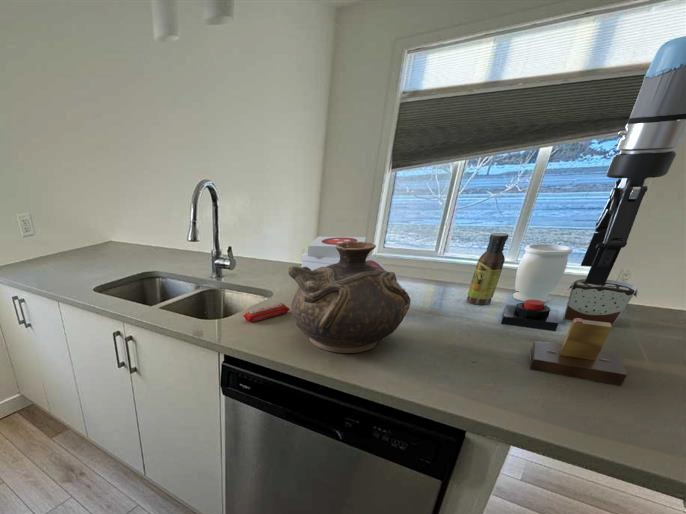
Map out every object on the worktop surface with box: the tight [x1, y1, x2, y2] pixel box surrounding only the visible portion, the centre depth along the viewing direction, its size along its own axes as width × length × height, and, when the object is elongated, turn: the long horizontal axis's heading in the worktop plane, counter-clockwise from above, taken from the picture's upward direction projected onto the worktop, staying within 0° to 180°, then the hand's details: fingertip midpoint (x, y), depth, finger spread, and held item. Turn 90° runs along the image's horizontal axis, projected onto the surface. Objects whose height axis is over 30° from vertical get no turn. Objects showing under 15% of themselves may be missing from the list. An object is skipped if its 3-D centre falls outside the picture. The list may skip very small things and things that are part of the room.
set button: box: [523, 300, 546, 310], centre depth 105 cm, size 4×4×2 cm
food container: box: [562, 278, 639, 328], centre depth 103 cm, size 12×6×10 cm, turn 48°
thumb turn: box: [560, 318, 613, 361], centre depth 83 cm, size 6×2×8 cm, turn 52°
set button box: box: [500, 302, 559, 332], centre depth 107 cm, size 11×10×4 cm
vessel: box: [287, 241, 411, 354], centre depth 101 cm, size 27×28×25 cm
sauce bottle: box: [466, 232, 509, 306], centre depth 117 cm, size 6×6×20 cm
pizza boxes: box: [301, 235, 406, 291], centre depth 129 cm, size 19×30×18 cm, turn 41°
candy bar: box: [242, 302, 291, 323], centre depth 125 cm, size 16×4×3 cm, turn 114°
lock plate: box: [529, 340, 628, 387], centre depth 86 cm, size 14×11×3 cm
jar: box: [512, 243, 574, 303], centre depth 117 cm, size 11×10×15 cm
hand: (591, 274), depth 80 cm, fingers open, 13 cm apart
